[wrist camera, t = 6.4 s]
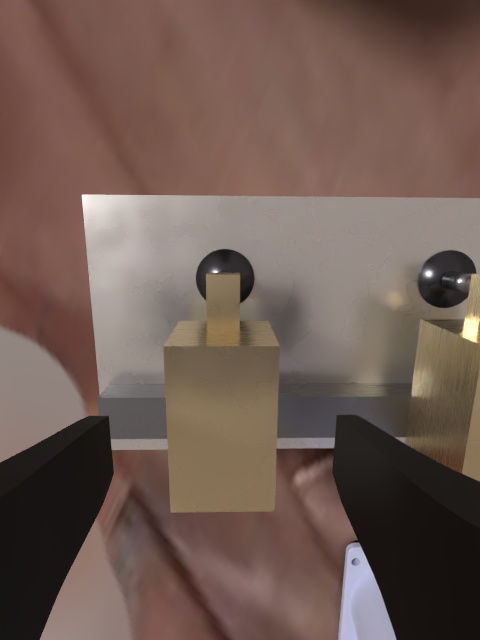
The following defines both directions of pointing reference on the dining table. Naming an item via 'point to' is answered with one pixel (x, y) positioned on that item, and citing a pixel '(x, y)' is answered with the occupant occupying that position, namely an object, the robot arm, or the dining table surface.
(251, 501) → the leg
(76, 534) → the robot arm
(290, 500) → the dining table surface
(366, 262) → the plate
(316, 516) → the dining table surface
